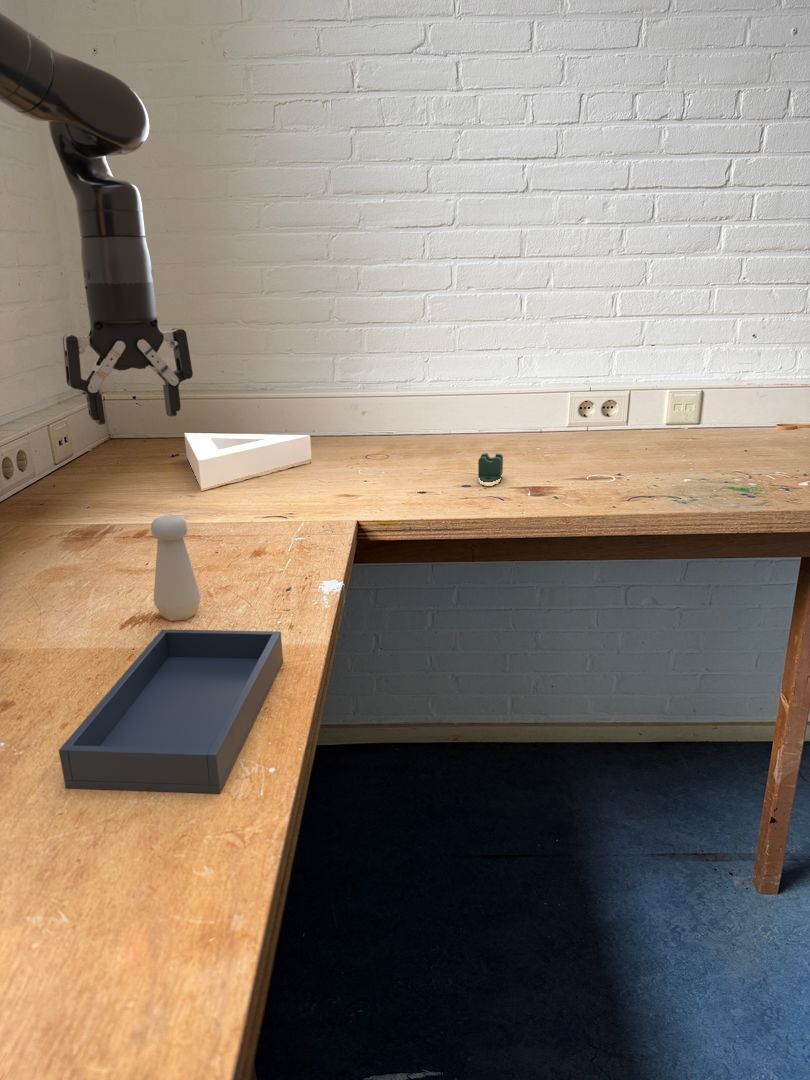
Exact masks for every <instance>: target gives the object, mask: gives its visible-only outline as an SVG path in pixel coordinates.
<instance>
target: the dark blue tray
mask: <svg viewBox="0 0 810 1080" xmlns="http://www.w3.org/2000/svg"><path fill="white" fill-rule="evenodd" d="M283 663H284V656H283V642H282V632H281V631H280V630H279V631H278V630H277V631H276V630H275V631H273V630H228V629H227V630H224V629H223V630H222V629H220V630H219V629H170V628H169V629H167V628H166V629H165V628H163V629H161V630H160V631H159V632H158V633H157V634H156V636H155V637H154V638H153V639H152V640H151V641H150V642H149V643H148V645H147V646H146V647H145V648H144V650H142V652H141V653H140V654H139V655H138V657H136V659H135V660H134V661H133V662H132V664H131V665H130V666H129V667H128V668H127V669H126V670H125V672H124V673H123V674H122V675H121V676H120V677H119V679H118V680H117V681H116V682H115V684H114V685H113V686H112V687H111V688H110V689H109V691H107V693H106V694H105V695H104V696H103V698H102V699H101V700H100V701H99V702H98V703H97V704H96V706H95V707H94V708H93V709H92V710H91V711H90V713H89V714H88V715H87V716H86V718H85V719H84V720H83V721H82V722H81V723H80V725H79V726H78V727H77V728H76V729H75V730H74V731H73V732H72V734H71V735H70V736H69V737H68V739H66V741H65V742H64V743H63V744H62V745H61V746H60V748H59V749H58V754H59V755H58V756H59V760H60V765H61V771H62V776H63V783H64V787H65V788H66V789H83V790H84V789H85V790H86V789H87V790H111V791H112V790H113V791H114V790H115V791H138V792H139V791H143V792H171V793H195V794H221V793H222V790H223V789H224V786H225V785H226V782H227V781H228V778H229V776H230V774H231V772H232V770H233V767H234V765H235V763H236V761H237V759H238V757H239V755H240V753H241V751H242V749H243V747H244V744H245V743H246V740H247V738H248V736H249V734H250V732H251V729H252V728H253V725H254V724H255V722H256V720H257V718H258V715H259V713H260V711H261V709H262V707H263V705H264V703H265V700H266V698H267V697H268V694H269V692H270V691H271V688H272V687H273V684H274V682H275V679H276V678H277V676H278V673H279V671H280V669H281V667H282V666H283Z"/></svg>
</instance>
